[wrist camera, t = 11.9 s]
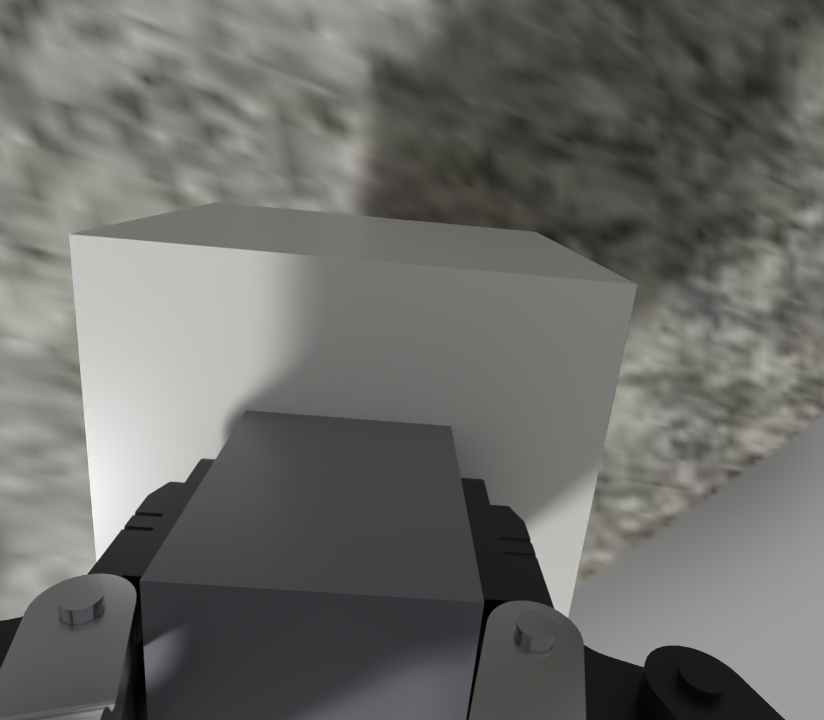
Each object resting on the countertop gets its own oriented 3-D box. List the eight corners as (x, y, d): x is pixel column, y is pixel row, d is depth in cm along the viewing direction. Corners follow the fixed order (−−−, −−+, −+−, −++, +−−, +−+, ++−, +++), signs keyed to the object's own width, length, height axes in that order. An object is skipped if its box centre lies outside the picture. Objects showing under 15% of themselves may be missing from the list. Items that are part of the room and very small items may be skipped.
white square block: (215, 202, 19) (-203, 292, 6) (535, 232, 19) (816, 376, 6) (218, 488, 22) (-50, 964, 9) (493, 507, 23) (622, 987, 9)
